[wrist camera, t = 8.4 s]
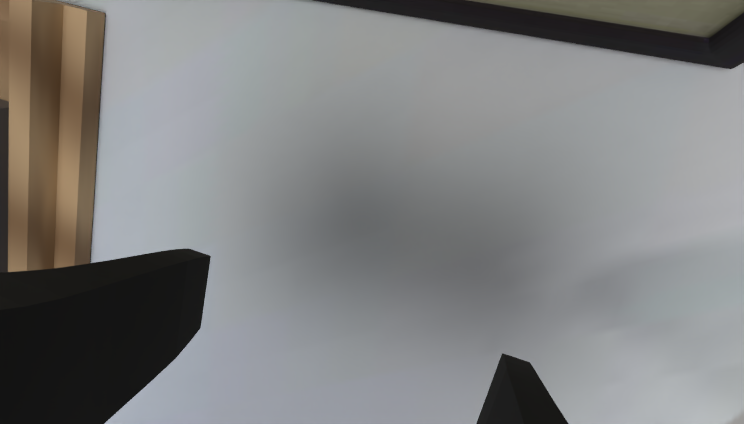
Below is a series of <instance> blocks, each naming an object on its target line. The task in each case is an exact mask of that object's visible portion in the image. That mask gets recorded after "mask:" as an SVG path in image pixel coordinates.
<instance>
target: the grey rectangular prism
mask: <svg viewBox="0 0 744 424" xmlns="http://www.w3.org/2000/svg"><path fill="white" fill-rule="evenodd" d="M8 168H9V101H5V100H2V99H0V272H8Z"/></svg>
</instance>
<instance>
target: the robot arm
mask: <svg viewBox="0 0 744 424" xmlns="http://www.w3.org/2000/svg"><path fill="white" fill-rule="evenodd" d="M210 257H211V256H209V255H206V254H203V253H200V252H197V251H194V250H191V249H176V250H168V251H161V252H155V253H149V254H144V255H138V256H132V257H126V258H121V259H115V260H109V261H103V262H96V263H89V264H82V265H75V266H68V267H61V268H52V269H43V270H31V271H16V272H0V424H104V423H105V422H106V421H107V420H108V419H110V418H111V417H112V416H113V415H114V414H115V413H116V412H117V411H118V410H120V409H121V408H122V407H123V406H124V405H125V404H126V403H127V402H128V401H130V400H131V399H132V398H133V397H134V396H135V395H136V394H137V393H138V392H139V391H141V390H142V389H143V388H144V387H145V386H146V385H147V384H148V383H149V382H151V381H152V380H153V379H154V378H155V377H156V376H157V375H158V374H159V373H160V372H161V371H163V370H164V369H165V368H166V367H167V366H168V365H169V364H170V363H171V362H172V361H173V360H174V359H175V358H176V357H177V356H178V355H179V354H180V352H181V351H182V350H183V349H184V348H185V347H186V345H187V344H188V343H189V342H190V340H191V339H192V338H193V337H194V335H195V334H196V333H197V332H198V330H199V329H200V327H201V320H202V313H203V306H204V299H205V292H206V285H207V278H208V271H209V264H210ZM477 424H568V422H567V421H566V419H565V418H564V416H563V415H562V413H561V412H560V410H559V409H558V407H557V406H556V404H555V402H554V401H553V399H552V398H551V396H550V394H549V393H548V391H547V389H546V388H545V386H544V385H543V383H542V381H541V380H540V378H539V376H538V375H537V373H536V371H535V370H534V368H533V367H532V365H531V364H530V362H527V361H524V360H521V359H518V358H515V357H512V356H509V355H506V354H503V353H502V355H501V358H500V361H499V364H498V366H497V369H496V372H495V375H494V377H493V380H492V383H491V386H490V388H489V391H488V394H487V397H486V399H485V402H484V405H483V408H482V410H481V413H480V416H479V418H478V421H477Z"/></svg>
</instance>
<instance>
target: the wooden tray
mask: <svg viewBox="0 0 744 424" xmlns="http://www.w3.org/2000/svg"><path fill="white" fill-rule="evenodd" d="M104 24H105V13H103V12H99V11H95V10H91V9H87V8H84V7H80V6H76V5H72V4H68V3H64V2H61V1H57V0H0V99H2V100H5V101H9V168H8V272H16V271H31V270H43V269H52V268H61V267H68V266H75V265H82V264H89V263H90V253H91V236H92V220H93V204H94V188H95V171H96V155H97V139H98V122H99V106H100V90H101V73H102V57H103V41H104Z"/></svg>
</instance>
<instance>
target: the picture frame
mask: <svg viewBox="0 0 744 424" xmlns="http://www.w3.org/2000/svg"><path fill="white" fill-rule="evenodd" d="M314 1H320V2H327V3H333V4H339V5H345V6H351V7H357V8H363V9H369V10H375V11H381V12H387V13H394V14H400V15H406V16H412V17H418V18H424V19H430V20H436V21H442V22H448V23H454V24H461V25H467V26H473V27H479V28H485V29H491V30H497V31H503V32H509V33H515V34H522V35H528V36H534V37H540V38H546V39H552V40H558V41H564V42H570V43H576V44H582V45H589V46H595V47H601V48H607V49H613V50H619V51H625V52H631V53H637V54H643V55H649V56H656V57H662V58H668V59H674V60H680V61H686V62H692V63H698V64H704V65H710V66H717V67H723V68H729V69H732V68H735V67H736V66H738V65H740V64H742V63H743V62H744V0H314Z"/></svg>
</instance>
